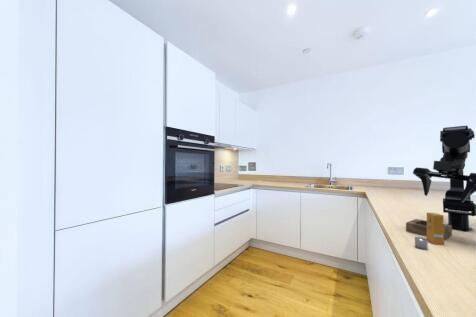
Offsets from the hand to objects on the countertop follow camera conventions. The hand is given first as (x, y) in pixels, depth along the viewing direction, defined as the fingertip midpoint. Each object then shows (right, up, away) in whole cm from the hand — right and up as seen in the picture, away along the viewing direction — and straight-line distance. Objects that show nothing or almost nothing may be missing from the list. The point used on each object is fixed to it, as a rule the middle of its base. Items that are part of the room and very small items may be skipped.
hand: (442, 198), depth 69 cm
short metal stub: (-14, -15, -7) cm, 21 cm away
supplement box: (-5, -15, -3) cm, 16 cm away
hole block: (+2, -15, +7) cm, 16 cm away
